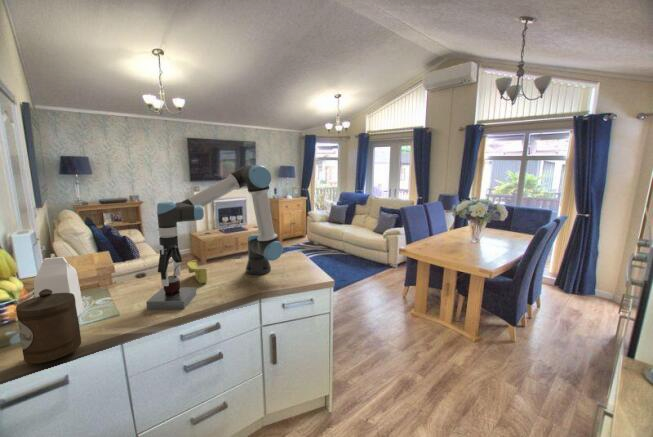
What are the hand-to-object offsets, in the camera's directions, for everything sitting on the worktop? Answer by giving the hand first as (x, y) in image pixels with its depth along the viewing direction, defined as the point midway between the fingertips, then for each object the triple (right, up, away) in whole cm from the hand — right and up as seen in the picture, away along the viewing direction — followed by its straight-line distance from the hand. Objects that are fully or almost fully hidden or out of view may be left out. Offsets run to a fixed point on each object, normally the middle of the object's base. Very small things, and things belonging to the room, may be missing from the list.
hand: (171, 280), depth 142 cm
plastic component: (-2, -6, +30) cm, 31 cm away
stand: (0, -10, +2) cm, 11 cm away
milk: (-39, -13, -14) cm, 43 cm away
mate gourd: (0, -7, +1) cm, 7 cm away
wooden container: (-21, -17, -37) cm, 46 cm away
